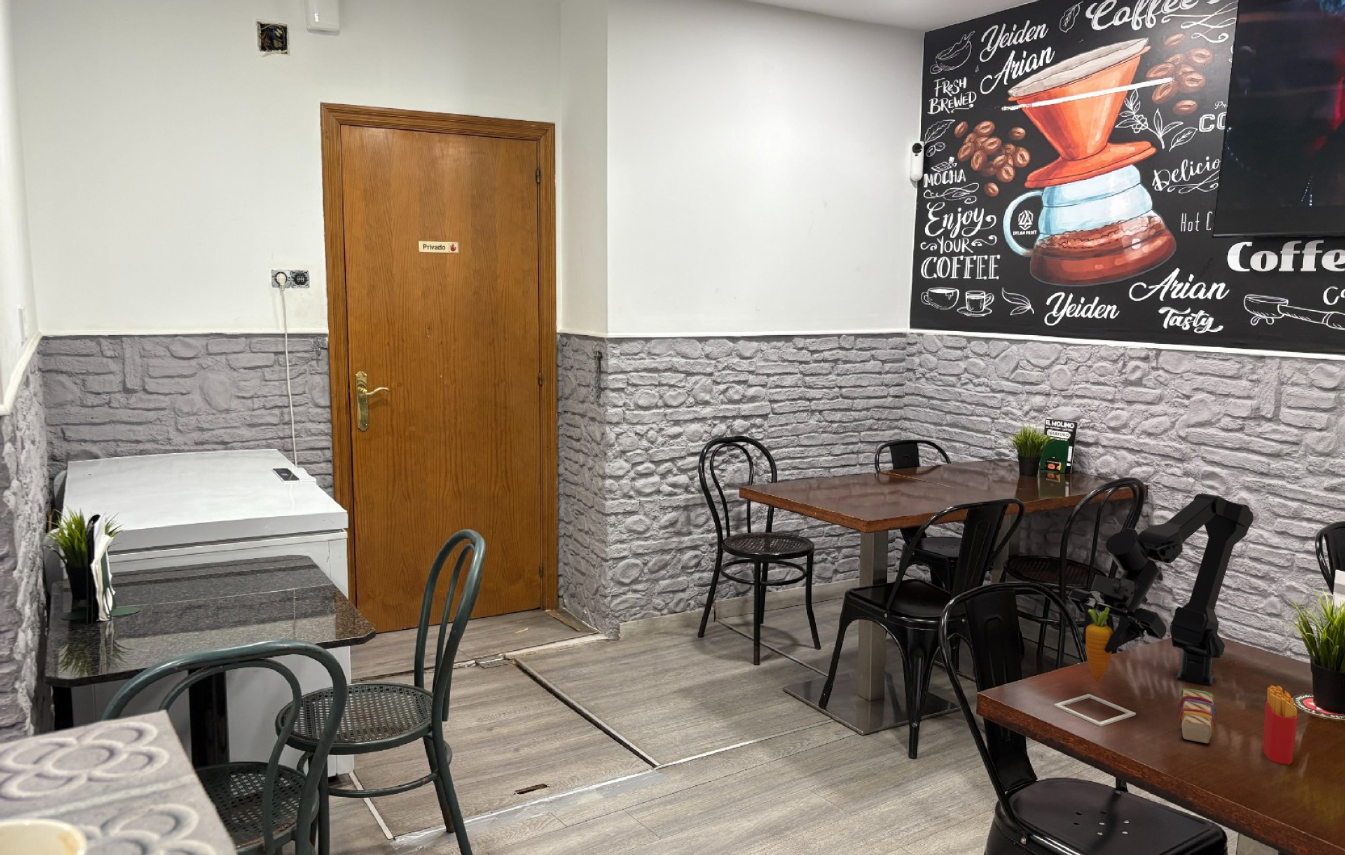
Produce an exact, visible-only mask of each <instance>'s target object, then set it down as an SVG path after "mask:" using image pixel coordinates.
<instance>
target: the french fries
mask: <svg viewBox="0 0 1345 855" xmlns="http://www.w3.org/2000/svg"><path fill="white" fill-rule="evenodd" d="M1266 690H1267V692H1266V693H1267V701H1265V709H1264V710H1265V711H1264V722H1263V724H1264V725H1263V738H1262V740H1263V741H1262V751H1263V753H1264V755H1265V757H1266V758H1267V759H1268V760H1269V761H1271V762H1273V763H1276V764H1281V765H1290V764H1292V763H1293V760H1294V759H1293V758H1294V752H1295V744H1296V736H1297V734H1296V733H1297V727H1298V720H1299V716H1298V715H1297V714H1298V709H1297V707H1296V706H1295V700H1294V699H1293V698H1292V696H1291V693H1289V692H1288V691H1286V690H1284V692H1283V688H1282V687H1281V686H1280V685H1276V686H1274V685H1272V684H1270V686H1268V687H1267V689H1266Z"/></svg>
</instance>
